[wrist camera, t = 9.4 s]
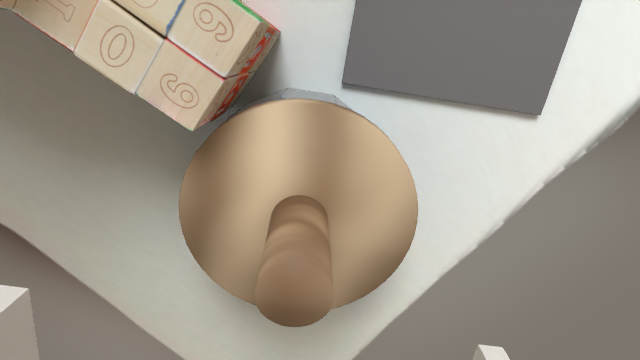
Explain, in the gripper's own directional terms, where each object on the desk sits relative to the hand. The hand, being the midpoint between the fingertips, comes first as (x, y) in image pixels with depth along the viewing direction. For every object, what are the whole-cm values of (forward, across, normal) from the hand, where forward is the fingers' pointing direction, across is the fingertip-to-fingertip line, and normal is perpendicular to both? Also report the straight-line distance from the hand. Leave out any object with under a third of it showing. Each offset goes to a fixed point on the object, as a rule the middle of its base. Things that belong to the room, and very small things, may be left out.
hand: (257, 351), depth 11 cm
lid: (+12, +1, -1) cm, 12 cm away
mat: (+18, +10, +13) cm, 24 cm away
